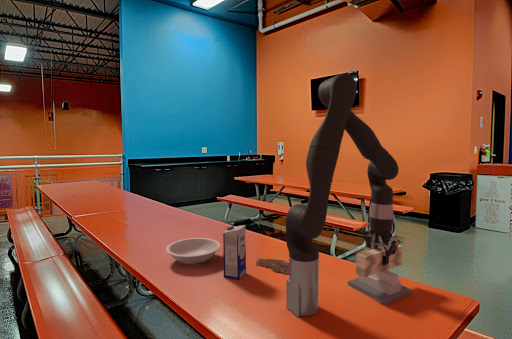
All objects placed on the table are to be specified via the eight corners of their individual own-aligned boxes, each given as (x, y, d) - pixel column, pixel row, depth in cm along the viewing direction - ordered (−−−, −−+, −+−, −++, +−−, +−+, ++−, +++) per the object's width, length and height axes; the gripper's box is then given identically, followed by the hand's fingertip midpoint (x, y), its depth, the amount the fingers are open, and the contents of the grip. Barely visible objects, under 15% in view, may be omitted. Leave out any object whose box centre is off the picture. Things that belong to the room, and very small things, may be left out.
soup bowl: (195, 247, 155) (194, 234, 154) (232, 257, 141) (231, 243, 140) (154, 263, 135) (154, 248, 135) (192, 277, 122) (192, 261, 121)
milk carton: (239, 280, 118) (238, 229, 116) (223, 277, 121) (222, 227, 119) (246, 272, 125) (245, 224, 123) (231, 270, 127) (230, 223, 125)
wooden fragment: (249, 263, 135) (249, 260, 135) (266, 256, 143) (266, 254, 143) (298, 281, 118) (298, 278, 118) (313, 272, 126) (313, 269, 126)
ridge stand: (385, 304, 100) (386, 282, 99) (347, 284, 114) (348, 265, 113) (411, 293, 107) (412, 273, 106) (373, 276, 121) (374, 257, 120)
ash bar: (364, 277, 103) (365, 257, 103) (356, 273, 107) (356, 253, 106) (401, 264, 113) (402, 246, 113) (393, 261, 117) (393, 243, 116)
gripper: (357, 212, 112) (356, 258, 114) (392, 221, 100) (390, 272, 102) (371, 210, 116) (370, 254, 118) (406, 218, 104) (404, 267, 105)
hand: (379, 262), depth 110 cm, fingers closed on ash bar, 3 cm apart
